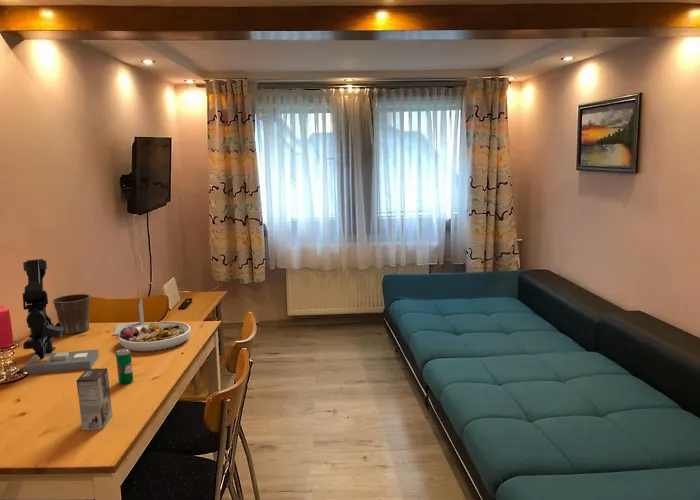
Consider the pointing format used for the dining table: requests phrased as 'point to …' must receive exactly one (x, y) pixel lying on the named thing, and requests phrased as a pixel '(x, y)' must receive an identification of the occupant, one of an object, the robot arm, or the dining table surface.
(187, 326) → the bowl
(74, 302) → the plant pot
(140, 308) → the laptop
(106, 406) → the coffee box
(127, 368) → the soda can
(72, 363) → the panel
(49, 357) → the orange button
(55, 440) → the dining table surface
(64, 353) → the sage button
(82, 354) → the off white button
